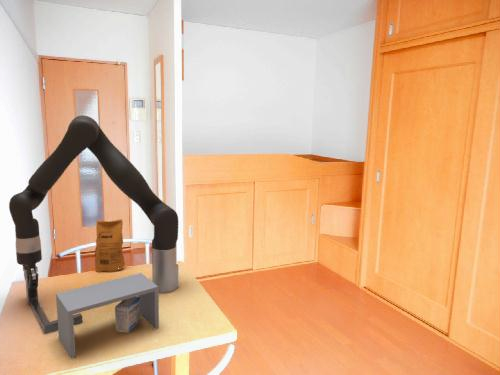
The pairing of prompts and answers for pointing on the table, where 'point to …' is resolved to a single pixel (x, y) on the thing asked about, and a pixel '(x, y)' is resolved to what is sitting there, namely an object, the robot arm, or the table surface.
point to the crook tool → (42, 317)
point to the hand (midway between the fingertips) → (32, 294)
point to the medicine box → (127, 314)
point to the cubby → (105, 303)
